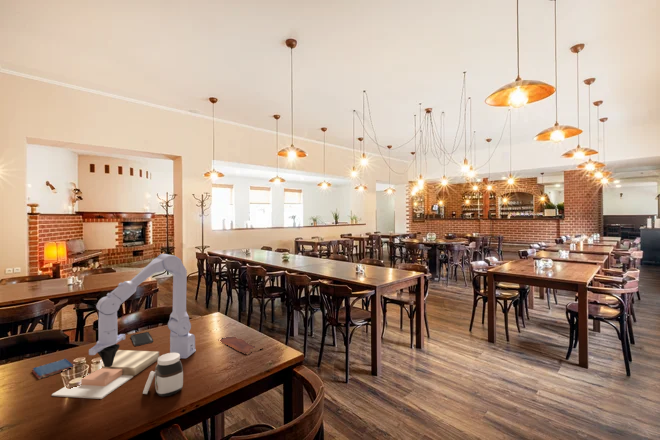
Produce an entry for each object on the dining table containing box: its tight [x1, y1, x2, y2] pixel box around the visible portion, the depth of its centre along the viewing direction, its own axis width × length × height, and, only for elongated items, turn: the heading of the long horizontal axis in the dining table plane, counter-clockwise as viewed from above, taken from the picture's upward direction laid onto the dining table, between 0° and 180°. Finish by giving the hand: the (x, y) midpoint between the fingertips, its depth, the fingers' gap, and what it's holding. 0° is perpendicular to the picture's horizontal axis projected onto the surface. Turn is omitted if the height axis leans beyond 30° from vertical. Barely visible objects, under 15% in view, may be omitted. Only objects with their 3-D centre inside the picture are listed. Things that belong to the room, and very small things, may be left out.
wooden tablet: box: [220, 336, 255, 354], centre depth 145 cm, size 27×10×2 cm, turn 48°
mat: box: [51, 372, 134, 400], centre depth 109 cm, size 18×14×1 cm
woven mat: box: [31, 358, 74, 380], centre depth 120 cm, size 10×11×2 cm
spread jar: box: [142, 352, 184, 397], centre depth 105 cm, size 12×11×12 cm
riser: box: [102, 349, 160, 377], centre depth 124 cm, size 18×14×3 cm
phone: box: [130, 331, 154, 347], centre depth 151 cm, size 8×1×15 cm
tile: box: [81, 368, 123, 386], centre depth 112 cm, size 9×8×2 cm
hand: (108, 366), depth 115 cm, fingers closed
